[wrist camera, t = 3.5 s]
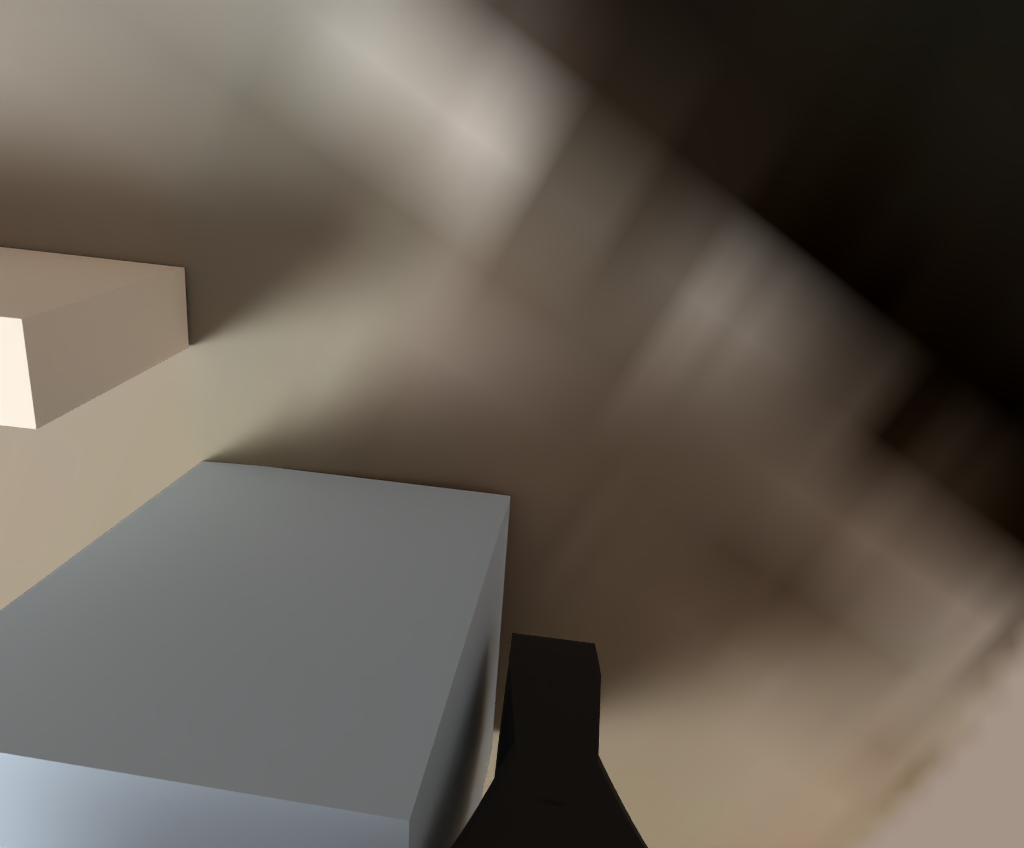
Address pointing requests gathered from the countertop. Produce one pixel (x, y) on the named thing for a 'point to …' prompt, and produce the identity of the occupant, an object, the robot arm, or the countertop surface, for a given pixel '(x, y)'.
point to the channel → (81, 329)
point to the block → (259, 669)
